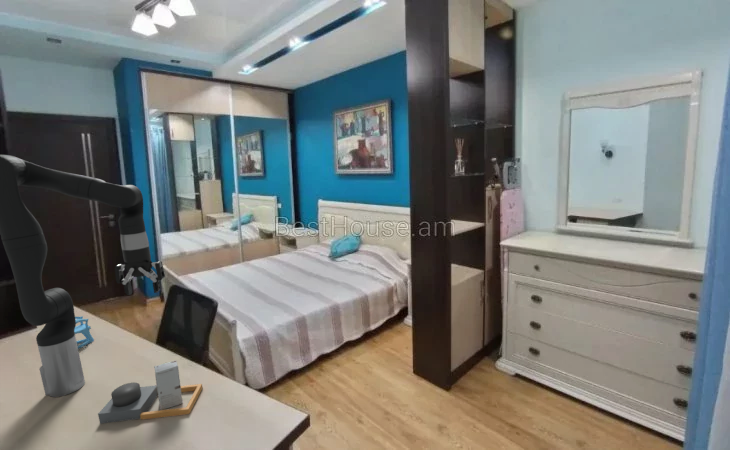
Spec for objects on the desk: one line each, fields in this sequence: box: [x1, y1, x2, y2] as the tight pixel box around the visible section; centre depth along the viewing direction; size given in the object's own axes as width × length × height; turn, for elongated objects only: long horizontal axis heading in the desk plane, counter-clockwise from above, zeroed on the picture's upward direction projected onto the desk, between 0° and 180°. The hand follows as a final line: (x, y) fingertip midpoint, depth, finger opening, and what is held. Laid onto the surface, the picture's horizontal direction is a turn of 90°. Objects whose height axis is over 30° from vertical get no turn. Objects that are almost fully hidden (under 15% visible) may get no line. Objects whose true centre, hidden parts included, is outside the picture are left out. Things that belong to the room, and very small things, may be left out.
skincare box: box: [153, 360, 183, 410], centre depth 108 cm, size 6×4×12 cm
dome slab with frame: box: [97, 382, 203, 424], centre depth 108 cm, size 24×12×6 cm, turn 97°
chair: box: [74, 315, 95, 350], centre depth 147 cm, size 8×8×12 cm
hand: (143, 293), depth 122 cm, fingers open, 8 cm apart
